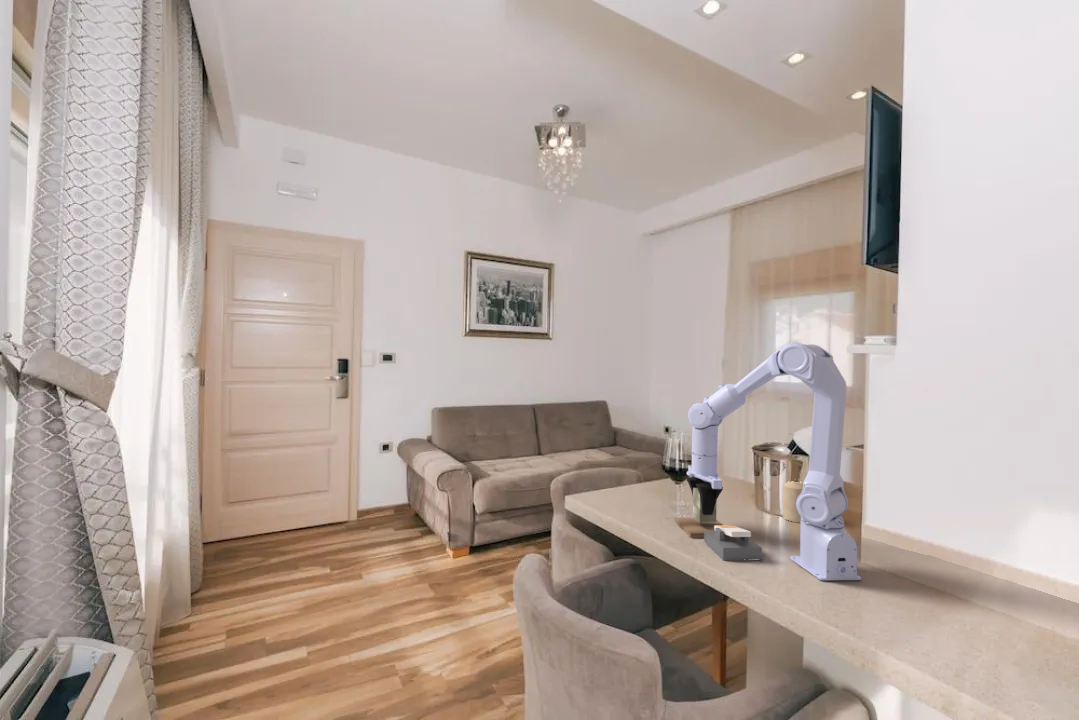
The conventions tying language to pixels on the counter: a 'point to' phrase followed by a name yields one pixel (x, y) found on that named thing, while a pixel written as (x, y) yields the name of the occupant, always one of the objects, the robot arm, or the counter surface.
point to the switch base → (732, 546)
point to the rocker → (733, 531)
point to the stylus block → (698, 509)
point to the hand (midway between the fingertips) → (703, 511)
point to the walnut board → (695, 526)
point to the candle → (791, 500)
